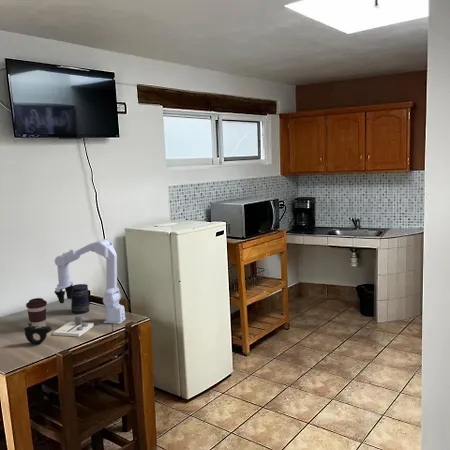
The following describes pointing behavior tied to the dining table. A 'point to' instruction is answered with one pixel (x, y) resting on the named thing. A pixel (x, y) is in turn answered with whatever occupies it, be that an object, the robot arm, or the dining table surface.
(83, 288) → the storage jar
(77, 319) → the fader tab
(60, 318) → the dining table surface
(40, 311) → the coffee cup
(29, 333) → the controller
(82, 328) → the console
